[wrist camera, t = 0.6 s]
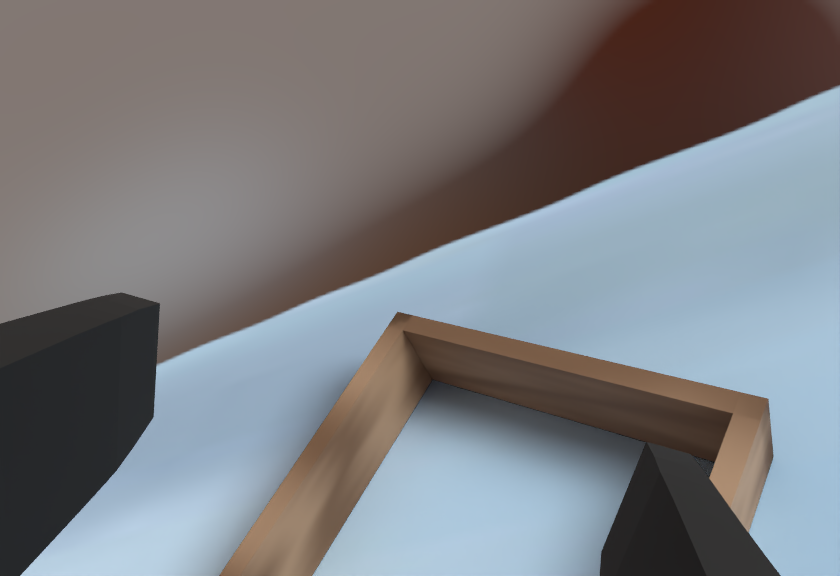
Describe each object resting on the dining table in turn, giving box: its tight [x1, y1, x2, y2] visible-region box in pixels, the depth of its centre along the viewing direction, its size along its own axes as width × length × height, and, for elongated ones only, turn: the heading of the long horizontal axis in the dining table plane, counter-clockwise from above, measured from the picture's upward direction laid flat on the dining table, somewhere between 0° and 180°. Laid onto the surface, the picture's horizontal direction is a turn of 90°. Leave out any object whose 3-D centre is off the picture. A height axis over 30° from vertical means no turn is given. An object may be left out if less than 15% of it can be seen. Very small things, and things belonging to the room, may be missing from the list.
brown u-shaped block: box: [219, 312, 773, 576], centre depth 25 cm, size 13×15×4 cm
